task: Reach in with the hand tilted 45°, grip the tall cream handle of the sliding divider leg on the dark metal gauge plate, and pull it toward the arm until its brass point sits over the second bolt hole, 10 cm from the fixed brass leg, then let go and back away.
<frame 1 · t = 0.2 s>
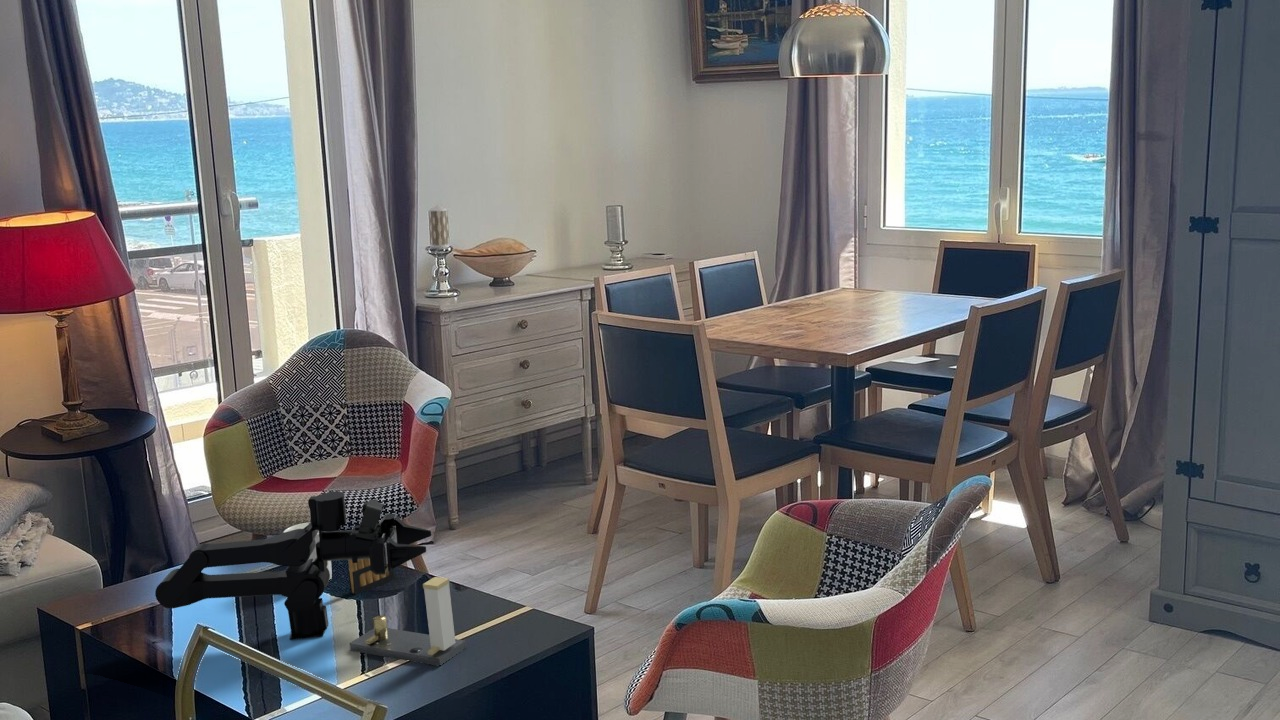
hand: (428, 541, 233), 17 cm above the table, tool horizontal, fingers open, 9 cm apart
ammunition clip: (373, 586, 258), on the table
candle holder: (313, 581, 263), on the table
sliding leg: (436, 616, 218), point 8 cm above the table, slide at 7.5 cm
gauge plate: (407, 649, 224), on the table
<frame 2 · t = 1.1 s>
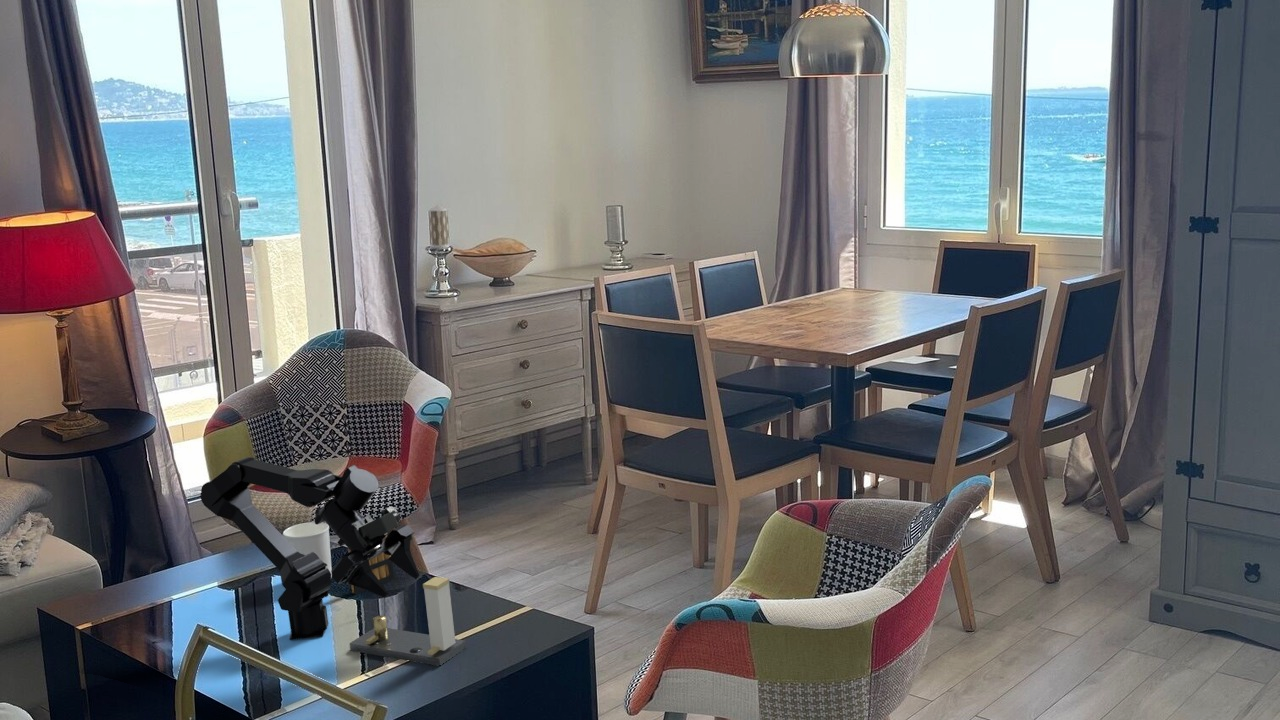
hand: (402, 586, 221), 13 cm above the table, tool tilted 45°, fingers open, 9 cm apart
nothing on the table moved.
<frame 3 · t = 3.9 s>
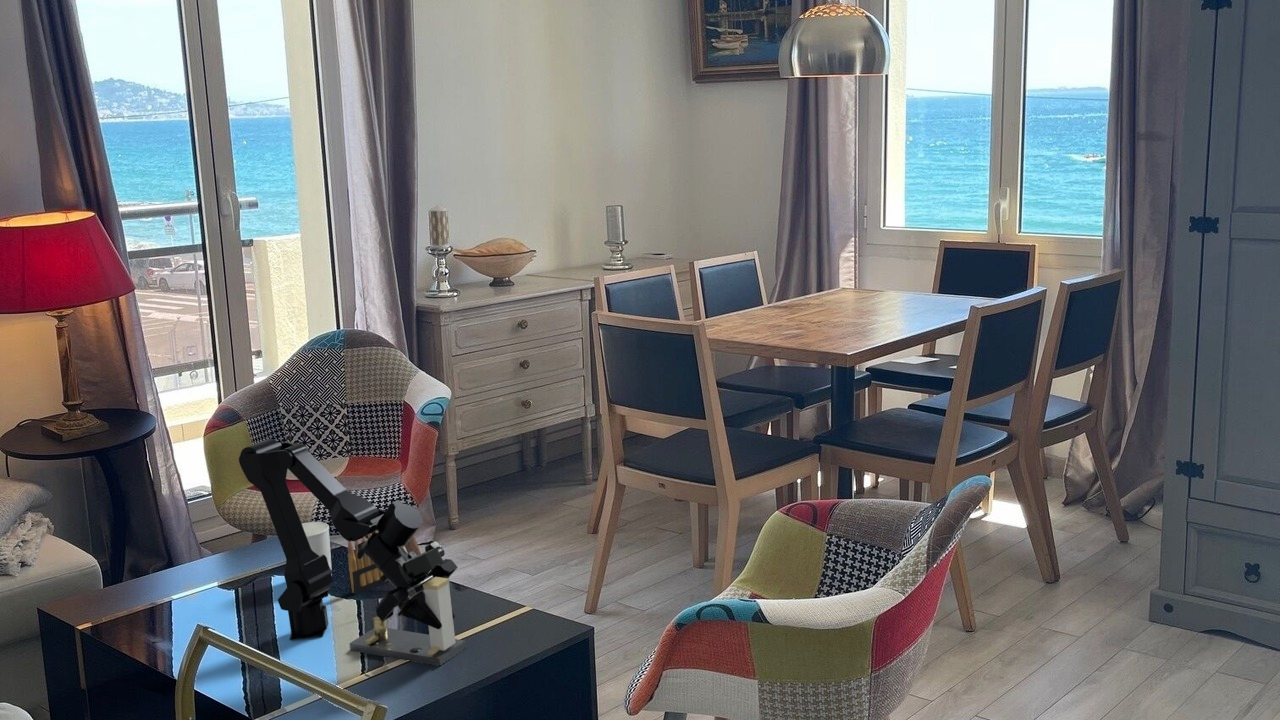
hand: (446, 623, 218), 7 cm above the table, tool tilted 45°, fingers closed on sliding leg, 3 cm apart
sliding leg: (436, 616, 218), point 8 cm above the table, slide at 7.5 cm, touching gripper
everything else where it was.
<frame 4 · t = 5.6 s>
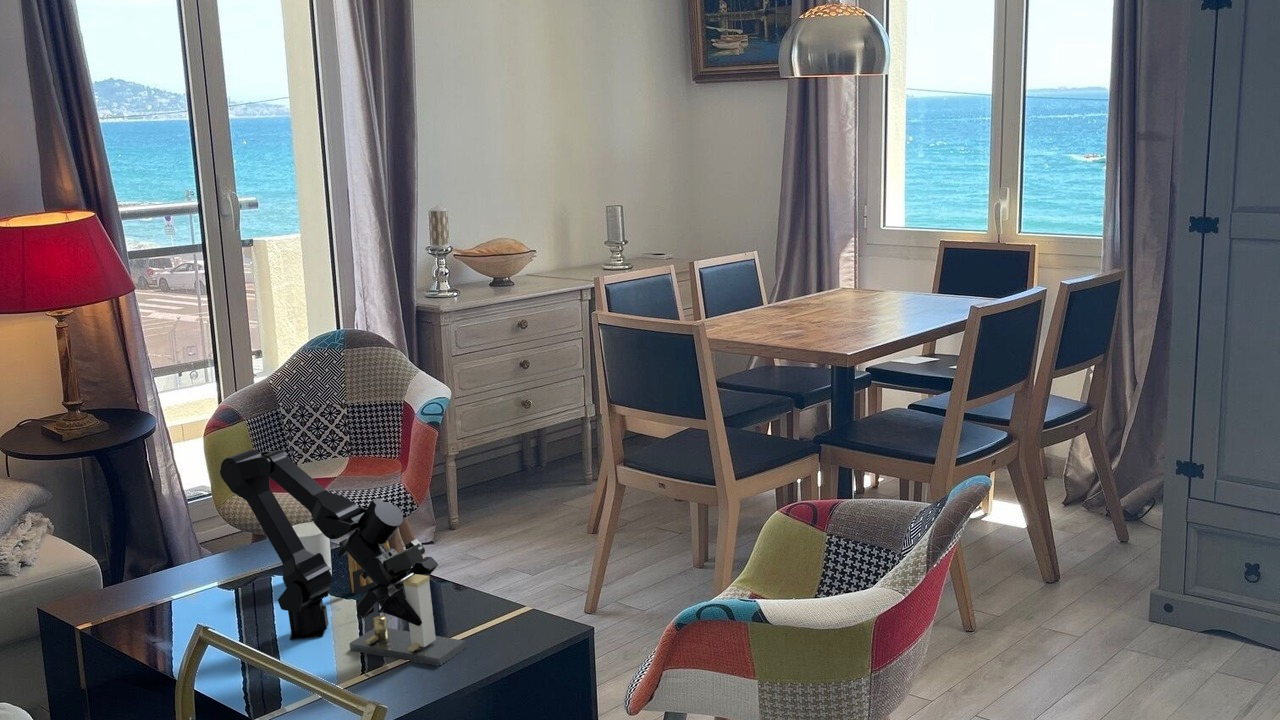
hand: (427, 620, 220), 7 cm above the table, tool tilted 45°, fingers closed on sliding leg, 3 cm apart
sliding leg: (416, 613, 220), point 8 cm above the table, slide at 3.0 cm, touching gripper
everything else where it was.
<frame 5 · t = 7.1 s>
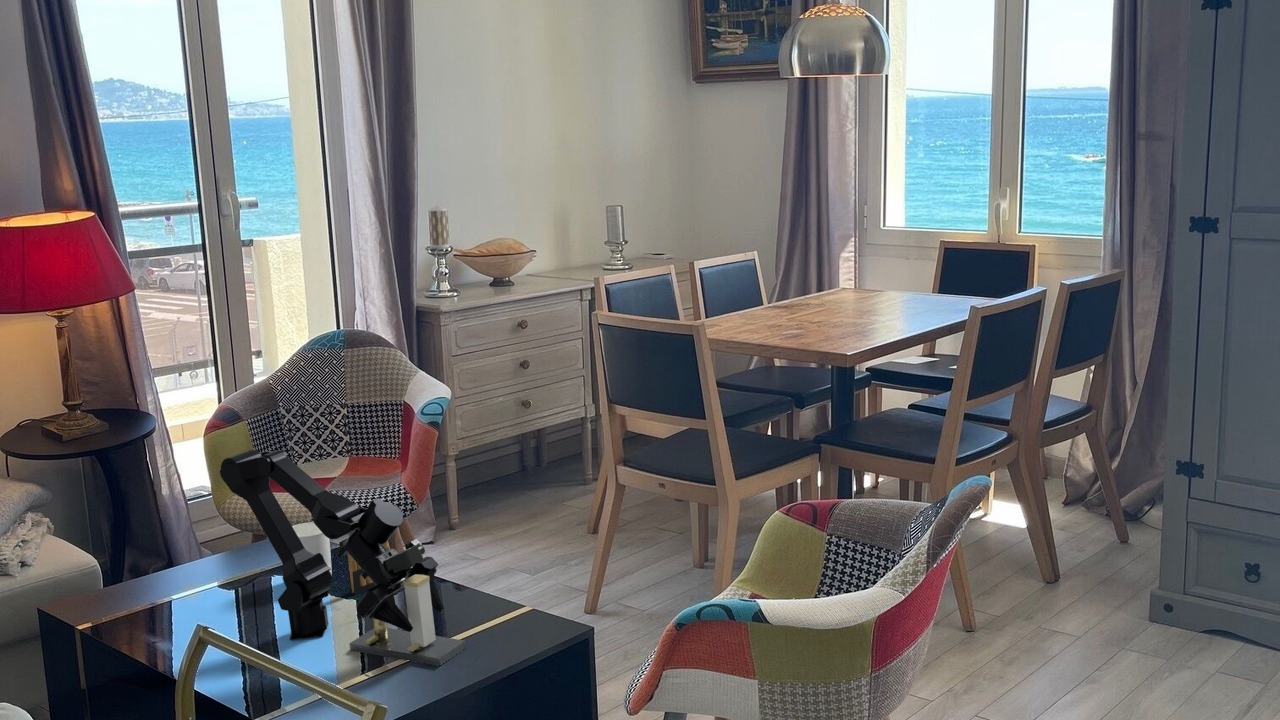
hand: (427, 620, 220), 7 cm above the table, tool tilted 45°, fingers open, 9 cm apart
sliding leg: (416, 613, 220), point 8 cm above the table, slide at 3.0 cm
everything else where it was.
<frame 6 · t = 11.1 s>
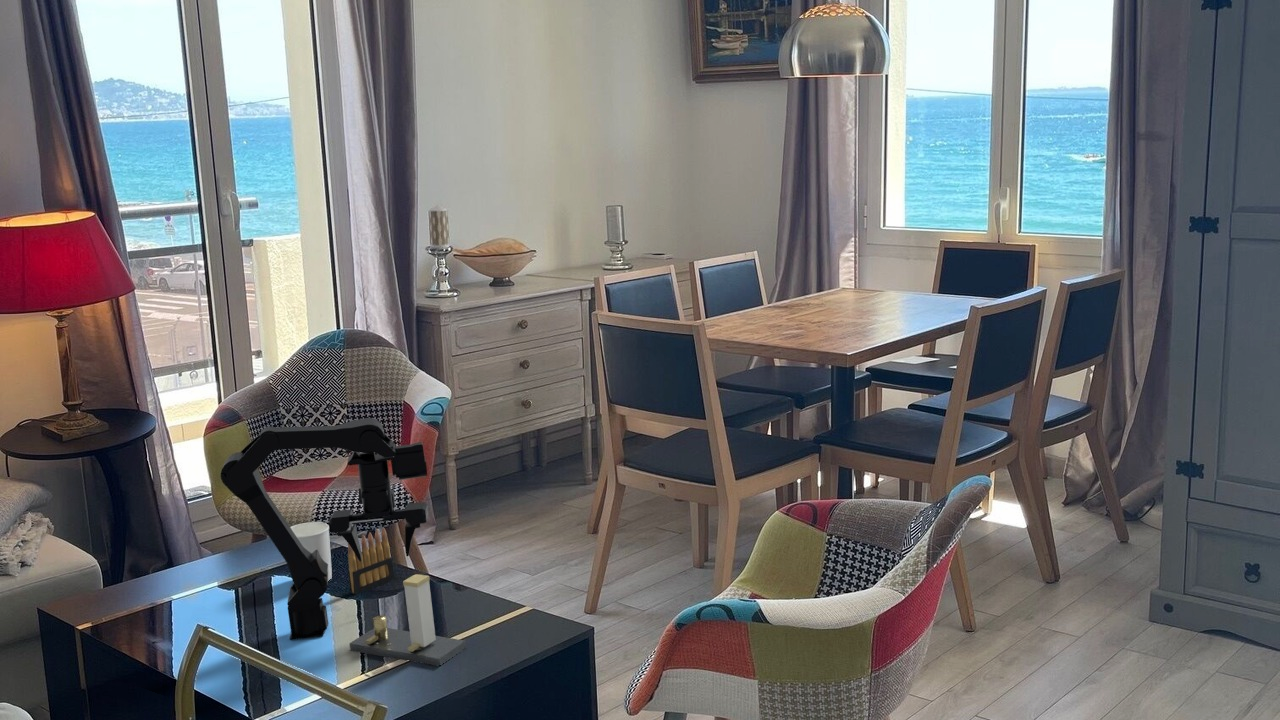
hand: (384, 558, 236), 13 cm above the table, tool pointing down, fingers open, 9 cm apart
nothing on the table moved.
at the end: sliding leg slide at 3.0 cm; the gripper is holding nothing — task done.
